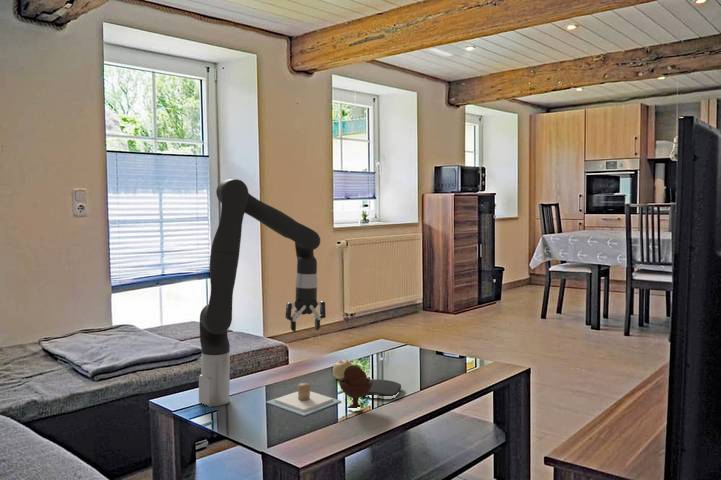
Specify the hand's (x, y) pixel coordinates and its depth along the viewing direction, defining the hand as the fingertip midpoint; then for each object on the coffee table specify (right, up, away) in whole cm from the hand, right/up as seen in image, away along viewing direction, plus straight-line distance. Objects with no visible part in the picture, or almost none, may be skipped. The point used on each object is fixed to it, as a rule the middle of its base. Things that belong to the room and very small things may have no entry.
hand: (305, 330), depth 218 cm
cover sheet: (+1, -22, -11) cm, 25 cm away
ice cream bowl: (+18, -24, -17) cm, 34 cm away
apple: (+13, -21, +16) cm, 30 cm away
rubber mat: (+1, -23, -11) cm, 25 cm away
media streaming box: (+26, -23, +1) cm, 35 cm away
